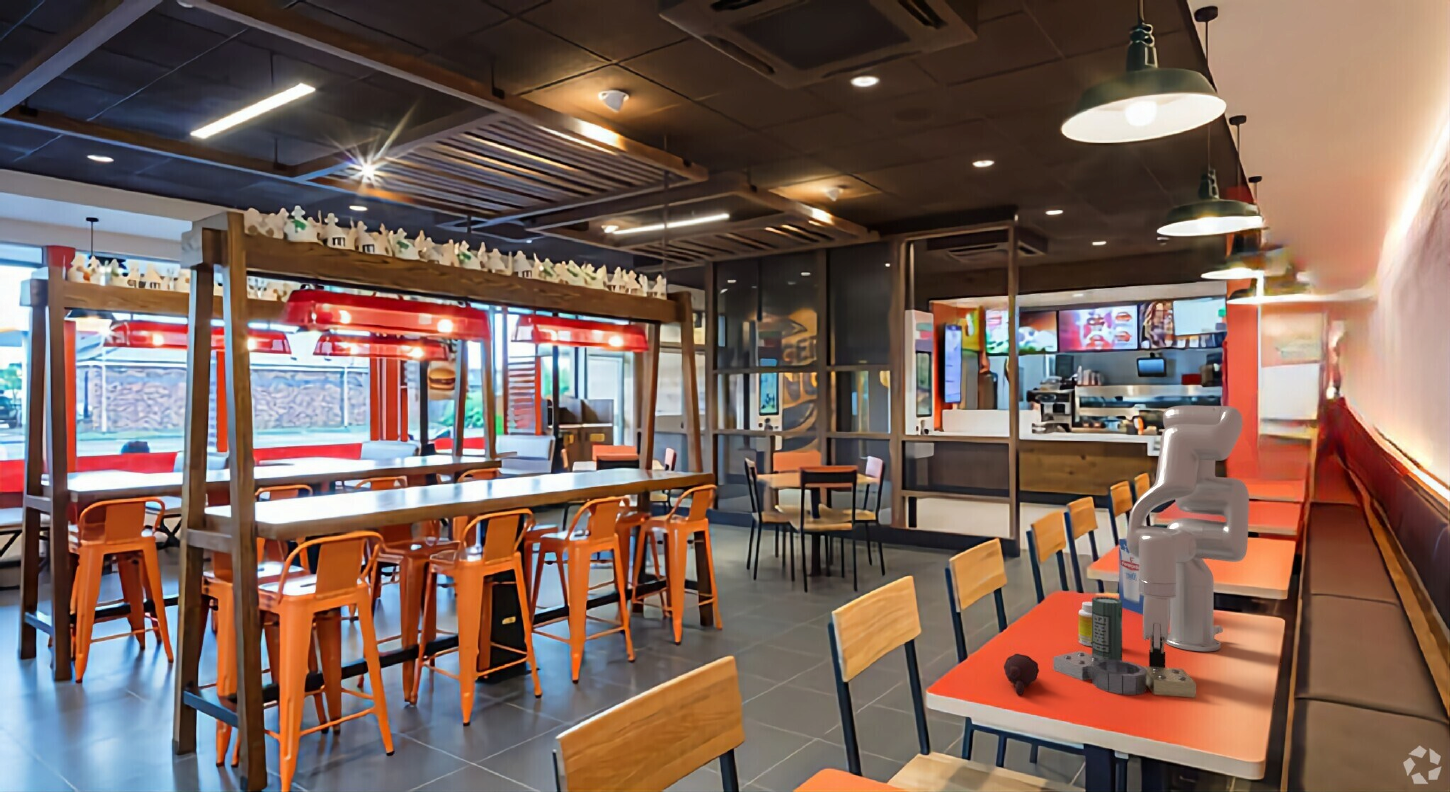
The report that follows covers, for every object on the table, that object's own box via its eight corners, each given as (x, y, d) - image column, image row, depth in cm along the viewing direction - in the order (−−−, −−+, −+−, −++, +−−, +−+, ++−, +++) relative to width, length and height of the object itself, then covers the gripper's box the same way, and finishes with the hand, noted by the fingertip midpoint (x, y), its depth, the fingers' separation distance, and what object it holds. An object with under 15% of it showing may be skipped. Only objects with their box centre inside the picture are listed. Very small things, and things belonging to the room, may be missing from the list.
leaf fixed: (1082, 663, 195) (1082, 646, 195) (1156, 689, 178) (1156, 670, 178) (1051, 670, 190) (1051, 652, 190) (1124, 697, 173) (1124, 678, 173)
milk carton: (1162, 613, 236) (1162, 543, 236) (1144, 615, 235) (1144, 545, 234) (1136, 604, 246) (1136, 537, 246) (1118, 606, 244) (1118, 538, 244)
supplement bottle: (1094, 648, 205) (1094, 607, 205) (1073, 642, 210) (1073, 602, 210) (1107, 644, 208) (1107, 604, 208) (1087, 639, 213) (1087, 599, 213)
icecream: (1005, 643, 190) (993, 669, 176) (1038, 639, 186) (1028, 665, 173) (1014, 672, 189) (1002, 700, 176) (1047, 670, 186) (1037, 698, 173)
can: (1126, 664, 194) (1126, 600, 193) (1111, 669, 190) (1111, 604, 190) (1102, 657, 199) (1102, 595, 198) (1087, 662, 195) (1087, 598, 195)
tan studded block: (1142, 679, 183) (1142, 664, 183) (1182, 682, 181) (1182, 667, 181) (1153, 694, 174) (1153, 679, 174) (1195, 697, 173) (1195, 682, 173)
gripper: (1139, 579, 195) (1139, 657, 196) (1137, 593, 182) (1137, 676, 182) (1176, 583, 192) (1175, 662, 192) (1176, 597, 179) (1176, 682, 179)
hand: (1157, 668), depth 187 cm, fingers closed
